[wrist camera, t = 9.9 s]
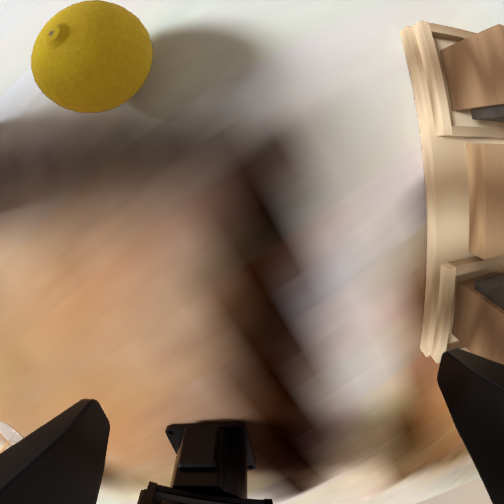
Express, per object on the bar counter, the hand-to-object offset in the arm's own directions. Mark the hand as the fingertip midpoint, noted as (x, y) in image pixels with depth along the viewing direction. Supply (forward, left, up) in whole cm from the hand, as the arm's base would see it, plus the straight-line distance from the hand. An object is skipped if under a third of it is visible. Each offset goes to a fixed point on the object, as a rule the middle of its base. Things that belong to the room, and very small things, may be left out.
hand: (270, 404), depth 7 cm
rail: (+2, -15, -12) cm, 19 cm away
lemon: (+12, +6, -12) cm, 18 cm away
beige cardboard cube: (+9, -15, -11) cm, 21 cm away
